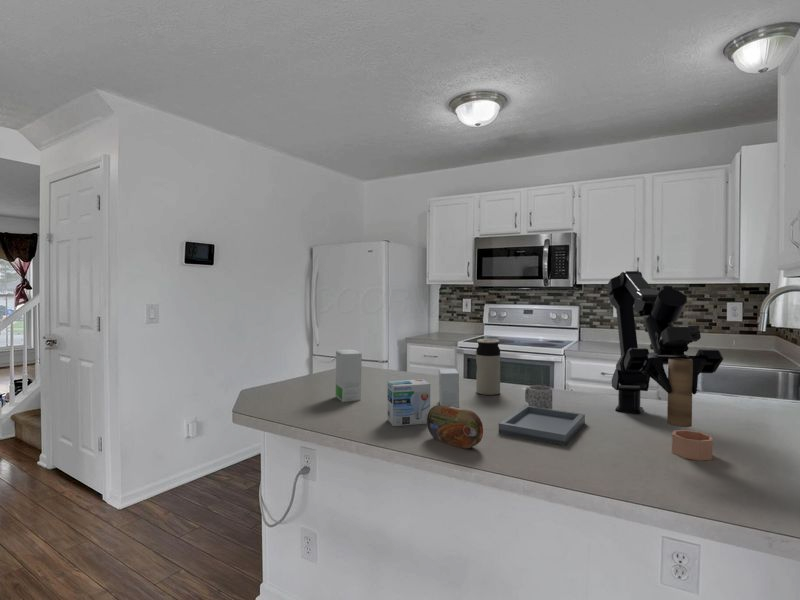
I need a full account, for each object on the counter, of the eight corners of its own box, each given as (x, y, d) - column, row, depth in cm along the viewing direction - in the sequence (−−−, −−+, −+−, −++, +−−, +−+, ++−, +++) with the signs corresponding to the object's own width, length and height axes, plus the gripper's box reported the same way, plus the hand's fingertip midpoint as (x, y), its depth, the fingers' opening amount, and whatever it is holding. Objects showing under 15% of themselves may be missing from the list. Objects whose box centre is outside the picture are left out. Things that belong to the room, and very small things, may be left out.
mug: (557, 412, 130) (557, 389, 129) (538, 414, 127) (538, 391, 127) (534, 403, 139) (534, 382, 139) (516, 406, 136) (516, 384, 136)
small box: (459, 408, 134) (459, 373, 134) (440, 408, 134) (440, 373, 134) (456, 401, 142) (456, 368, 142) (438, 401, 142) (438, 368, 142)
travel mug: (503, 391, 155) (503, 339, 154) (495, 396, 148) (495, 342, 147) (481, 389, 159) (481, 338, 158) (472, 393, 152) (472, 340, 152)
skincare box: (335, 396, 149) (334, 350, 149) (354, 394, 152) (353, 348, 151) (342, 402, 141) (342, 353, 141) (362, 400, 144) (362, 352, 144)
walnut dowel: (669, 419, 100) (669, 357, 100) (692, 423, 97) (693, 359, 97) (665, 424, 97) (666, 360, 96) (690, 428, 94) (691, 362, 94)
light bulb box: (392, 427, 117) (392, 386, 116) (386, 419, 123) (386, 380, 123) (431, 423, 120) (431, 383, 119) (423, 416, 126) (423, 378, 126)
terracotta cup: (673, 445, 102) (673, 428, 102) (712, 451, 98) (712, 433, 98) (671, 455, 96) (671, 437, 96) (712, 462, 92) (712, 443, 92)
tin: (426, 437, 109) (425, 402, 109) (434, 434, 111) (434, 400, 111) (477, 453, 98) (476, 415, 98) (485, 449, 100) (485, 412, 100)
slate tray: (525, 413, 128) (525, 405, 128) (584, 423, 119) (584, 413, 119) (498, 433, 111) (498, 423, 111) (565, 445, 102) (565, 435, 102)
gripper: (628, 312, 102) (644, 370, 91) (719, 313, 99) (747, 372, 88) (617, 342, 110) (631, 398, 99) (702, 344, 107) (725, 402, 96)
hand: (682, 392), depth 96 cm, fingers closed on walnut dowel, 4 cm apart
